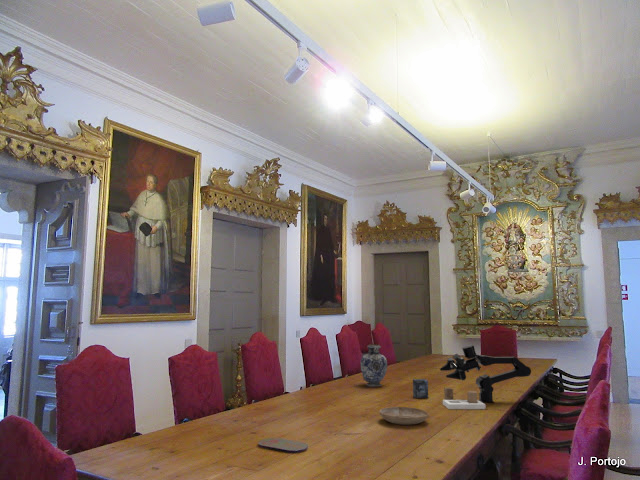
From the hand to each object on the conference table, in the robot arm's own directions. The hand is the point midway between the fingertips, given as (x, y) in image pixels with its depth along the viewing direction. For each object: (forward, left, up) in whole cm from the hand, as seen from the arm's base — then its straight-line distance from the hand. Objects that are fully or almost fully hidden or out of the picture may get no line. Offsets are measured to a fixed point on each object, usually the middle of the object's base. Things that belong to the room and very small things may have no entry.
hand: (443, 373), depth 275 cm
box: (+11, -13, -17) cm, 23 cm away
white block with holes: (-7, +13, -16) cm, 22 cm away
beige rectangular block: (-2, +2, -16) cm, 17 cm away
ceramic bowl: (+33, +46, -17) cm, 59 cm away
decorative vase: (+34, -54, -16) cm, 65 cm away
